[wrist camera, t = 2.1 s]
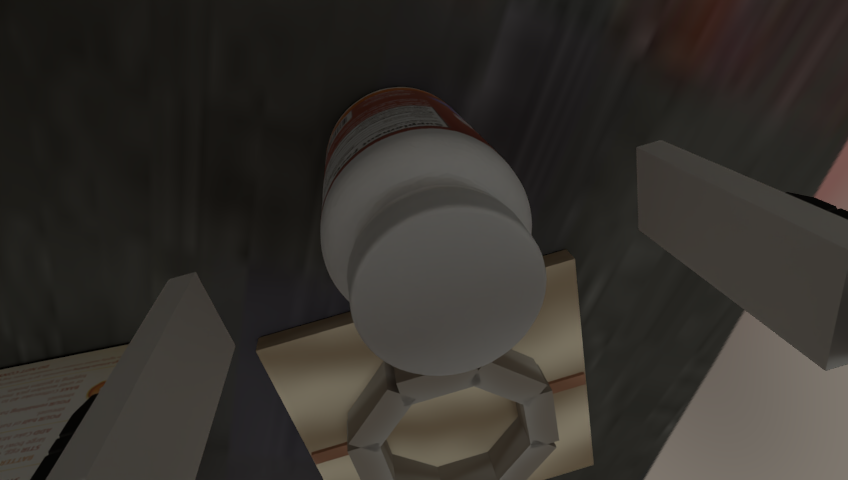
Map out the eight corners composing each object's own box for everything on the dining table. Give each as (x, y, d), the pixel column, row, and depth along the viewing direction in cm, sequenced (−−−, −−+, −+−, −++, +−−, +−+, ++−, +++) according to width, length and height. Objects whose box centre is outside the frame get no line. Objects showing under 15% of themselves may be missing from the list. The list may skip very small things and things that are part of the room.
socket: (258, 337, 24) (248, 380, 21) (566, 249, 24) (594, 280, 22) (353, 522, 31) (355, 570, 29) (586, 451, 32) (608, 492, 29)
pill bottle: (479, 201, 22) (588, 362, 13) (351, 238, 22) (362, 429, 12) (452, 65, 19) (568, 138, 10) (305, 105, 19) (272, 221, 10)
